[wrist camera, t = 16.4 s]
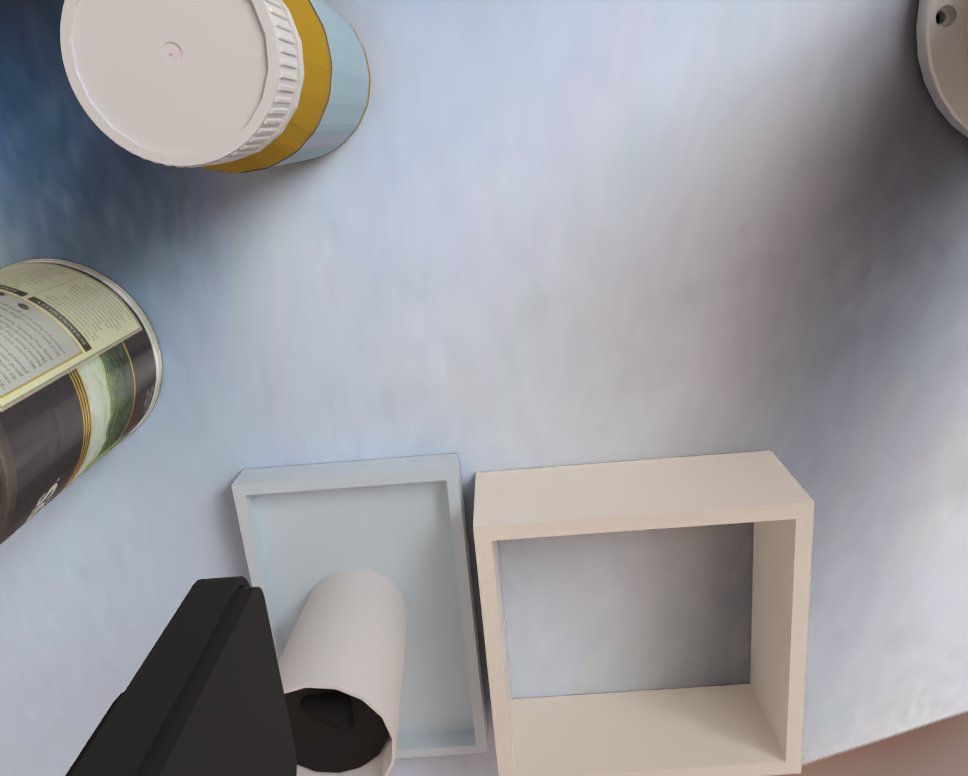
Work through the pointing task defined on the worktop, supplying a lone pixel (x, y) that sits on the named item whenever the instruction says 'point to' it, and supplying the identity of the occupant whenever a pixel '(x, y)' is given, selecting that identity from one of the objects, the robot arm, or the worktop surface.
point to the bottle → (217, 78)
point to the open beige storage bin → (666, 712)
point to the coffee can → (66, 378)
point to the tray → (387, 551)
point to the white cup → (347, 675)
